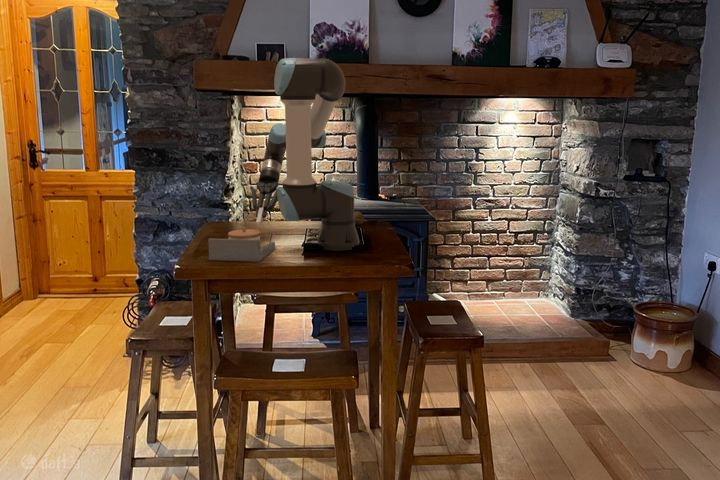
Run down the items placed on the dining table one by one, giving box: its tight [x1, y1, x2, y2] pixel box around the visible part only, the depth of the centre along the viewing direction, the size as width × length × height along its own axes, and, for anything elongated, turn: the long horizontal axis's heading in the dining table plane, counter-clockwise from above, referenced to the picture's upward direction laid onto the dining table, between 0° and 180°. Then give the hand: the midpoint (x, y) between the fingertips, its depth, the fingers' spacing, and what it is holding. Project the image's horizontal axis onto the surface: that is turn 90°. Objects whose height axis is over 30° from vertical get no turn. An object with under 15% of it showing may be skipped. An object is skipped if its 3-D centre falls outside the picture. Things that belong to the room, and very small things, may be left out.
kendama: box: [320, 210, 368, 226], centre depth 267 cm, size 6×10×20 cm
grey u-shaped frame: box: [207, 237, 276, 263], centre depth 219 cm, size 17×18×7 cm
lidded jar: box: [227, 226, 261, 241], centre depth 219 cm, size 11×11×9 cm
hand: (258, 224), depth 237 cm, fingers closed
